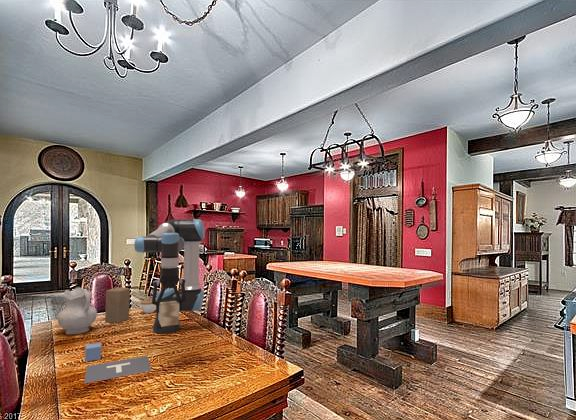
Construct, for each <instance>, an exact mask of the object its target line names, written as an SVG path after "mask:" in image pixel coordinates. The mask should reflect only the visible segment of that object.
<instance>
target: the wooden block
mask: <svg viewBox="0 0 576 420" xmlns="http://www.w3.org/2000/svg"><path fill="white" fill-rule="evenodd" d="M130 292H131V288H128V287H115V288H110V289H106V291H105V314H104V315H105V317H104V322H105V323H111V324H112V323H114V324H119V323H122V322H124V321H127V320H129V319H130V300H131V299H130V298H131V297H130V294H131V293H130Z"/></svg>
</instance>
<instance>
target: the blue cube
mask: <svg viewBox="0 0 576 420" xmlns="http://www.w3.org/2000/svg"><path fill="white" fill-rule="evenodd" d="M101 356H102V342H95V343H91V344H90V343H89V344H86V345H85V349H84V362H91V361H97V360H101V358H102V357H101Z"/></svg>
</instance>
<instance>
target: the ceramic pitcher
mask: <svg viewBox="0 0 576 420" xmlns="http://www.w3.org/2000/svg"><path fill="white" fill-rule="evenodd" d="M91 297H92V292H91V291H90V290H89V289H85V288H82V287H79V286H77V287H75V288H74V289H73V290H72V291H70V290H69V289H68V290H67V289H65V291H64V292H63V298H64V300H65V302H66V303H65V307H64V308H63V309H62V310H60V312H59V313H58V314H57V317H56V318H57V323H58V325H59V327H60V328H61V329H63V330H65V335H79V334H83V333H88V331H90V330H91V329H90V328H89V327H90V326H92V325H93V324H94V322H95V321H96V319H97V315H98V311H97V310H98V309H96V308H95V307H94V306H92V305H91V299H92V298H91Z"/></svg>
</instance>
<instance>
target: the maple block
mask: <svg viewBox="0 0 576 420" xmlns="http://www.w3.org/2000/svg"><path fill="white" fill-rule="evenodd" d="M160 304H161V321H159V323H160V325H161V327H163V326H171V325H178V320H179V318H178V306H179V304H178V303H177V301H169V302H160Z"/></svg>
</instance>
